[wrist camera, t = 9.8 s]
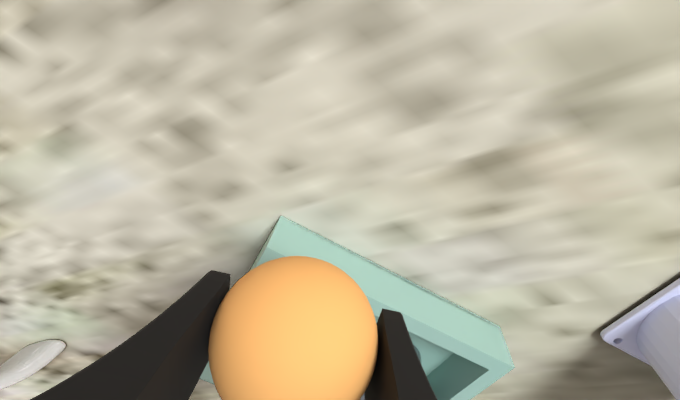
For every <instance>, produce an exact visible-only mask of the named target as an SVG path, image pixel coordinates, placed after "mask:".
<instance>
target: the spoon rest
mask: <svg viewBox="0 0 680 400" xmlns="http://www.w3.org/2000/svg"><path fill="white" fill-rule="evenodd" d="M65 347H66V344H65V343H64V342H63V341H61V340H45V341H41V342H38V343H34V344H31V345H28V346H26V347H24V348H22V349H21V350H20V351H19V352H17V353H16V354H15V355H13V356H12V357H11V358H10V359H8V360H7V361H6V362H4V363H3V364H2V365H0V390H1V389H4V388H7V387H9V386H11V385H14V384H16V383H18V382H20V381H22V380H24V379H26V378H28V377H29V376H31V375H33V374H34V373H36V372H37V371H39V370H40V369H42V368H43V367H44V366H46V365H47V364H48V363H49V362H51V361H52V360H53V359H54V358H55V357H56V356H58V355H59V354H60V353H61V352H62V351H63V350H64V349H65Z"/></svg>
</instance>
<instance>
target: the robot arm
mask: <svg viewBox="0 0 680 400" xmlns="http://www.w3.org/2000/svg"><path fill="white" fill-rule="evenodd" d="M229 287H230V274H226V273H221V272H217V271H210V272H208V273H207V274H206V275H205V276H204V277H203V278H202V279H201V280H200V281H199V282H198V283H196V284H195V285H194V286H193V287H192V288H191V289H190V290H189V291H188V292H187V293H185V294H184V295H183V296H182V297H181V298H180V299H179V300H177V301H176V302H175V303H174V304H173V305H171V306H170V307H169V308H168V309H167V310H165V311H164V312H163V313H162V314H161V315H159V316H158V317H157V318H156V319H154V320H153V321H152V322H150V323H149V324H148V325H146V326H145V327H144V328H142V329H141V330H140V331H139V332H137V333H136V334H135V335H133V336H132V337H131V338H129V339H128V340H126V341H125V342H124V343H122V344H121V345H119V346H118V347H116V348H115V349H114V350H112V351H111V352H109V353H108V354H106V355H105V356H103V357H102V358H100V359H99V360H97V361H95V362H94V363H92V364H91V365H89V366H88V367H86V368H84V369H83V370H81V371H79V372H78V373H76V374H74V375H73V376H71V377H70V378H68V379H66V380H65V381H63V382H61V383H59V384H58V385H56V386H54V387H53V388H51V389H49V390H47V391H45V392H44V393H42V394H40V395H38V396H36V397H34V398H32V399H31V400H188V399H189V397H190V396H191V394H192V392H193V390H194V388H195V386H196V384H197V382H198V380H199V378H200V377H201V375H202V373H203V371H204V369H205V367H206V365H207V363H208V361H209V354H208V346H209V336H210V331H211V326H212V323H213V320H214V317H215V314H216V312H217V310H218V307H219V305H220V304H221V302H222V300H223V299H224V297H225V296H226V294H227V292H228V291H229ZM377 332H378V353H377V361H376V365H375V369H374V372H373V376H372V378H371V380H370V383H369V385H368V387H367V389H366V391H365V392H364V396H365V400H437V398H436V396H435V394H434V391H433V389H432V387H431V385H430V383H429V381H428V379H427V376H426V374H425V372H424V370H423V367H422V365H421V363H420V360H419V358H418V356H417V353H416V351H415V348H414V346H413V343H412V340H411V338H410V335H409V332H408V330H407V327H406V324H405V321H404V318H403V315H402V314H401V312H397V311H392V310H388V309H383V308H382V311H381V313H380V316H379V319H378V321H377ZM600 336H601V338H602V339H603V340H604V341H605V342H607V343H609V344H610V345H612V346H614V347H616V348H618V349H620V350H622V351H624V352H626V353H627V354H629V355H631V356H633V357H635V358H637V359H639V360H641V361H643V362H644V363H646V364H648V365H650V366H652V367H653V369H654V370H655V372H656V373H657V374H658V376H659V377H660V378H661V380H662V381H663V382H664V384H665V385H666V387H667V388H668V389H669V391H670V392H671V393H672V395H673V396H674V397H675V399H676V400H680V278H679V279H677V280H676V281H674V282H673V283H671V284H670V285H668V286H667V287H665V288H664V289H663V290H661V291H660V292H658V293H657V294H655V295H654V296H652V297H651V298H649V299H648V300H646V301H645V302H643V303H642V304H640V305H639V306H637V307H636V308H634V309H633V310H631V311H630V312H629V313H627V314H626V315H624V316H623V317H621V318H620V319H618V320H617V321H615V322H614V323H612V324H611V325H609V326H608V327H606V328H605V329H603V330H602V331H601V333H600Z"/></svg>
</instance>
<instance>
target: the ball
mask: <svg viewBox="0 0 680 400" xmlns="http://www.w3.org/2000/svg"><path fill="white" fill-rule="evenodd" d="M377 353H378V332H377V324H376V320H375V317H374V313H373V310H372V308H371V305H370V303H369V301H368V299H367V297H366V295H365V294H364V292H363V291H362V290H361V288H360V287H359V285H358V284H357V283H356V282H355V281H354V280H353V279H352V278H351V277H350V276H349V275H348V274H346V273H345V272H344V271H343V270H341V269H340V268H338V267H337V266H335V265H333V264H331V263H329V262H326V261H324V260H320V259H317V258H312V257H307V256H288V257H282V258H278V259H274V260H270V261H268V262H265V263H263V264H261V265H259V266H257V267H256V268H254V269H252V270H250V271H249V272H248V273H247V274H245V275H244V276H243V277H242V278H240V279H239V280H238V281H237V282H236V283H235V284H234V286H233V287H232V288H231V289H230V290H229V291H228V292H227V294H226V296H225V297H224V299H223V300H222V302H221V304H220V305H219V307H218V310H217V312H216V314H215V317H214V320H213V323H212V326H211V331H210V336H209V346H208V354H209V367H210V371H211V375H212V379H213V382H214V384H215V387H216V389H217V391H218V393H219V395H220V397H221V399H222V400H360V399H361V397H362V396H363V394H364V392H365V391H366V389H367V387H368V385H369V383H370V380H371V378H372V376H373V372H374V369H375V365H376V361H377Z"/></svg>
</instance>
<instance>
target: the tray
mask: <svg viewBox="0 0 680 400" xmlns="http://www.w3.org/2000/svg"><path fill="white" fill-rule="evenodd" d="M288 256H307V257H312V258H317V259H320V260H324V261H326V262H329V263H331V264H333V265H335V266H337V267H338V268H340V269H341V270H343V271H344V272H345V273H346V274H348V275H349V276H350V277H351V278H352V279H353V280H354V281H355V282H356V283H357V284H358V285H359V287H360V288H361V290H362V291H363V292H364V294H365V295H366V297H367V299H368V301H369V303H370V305H371V308H372V310H373V313H374V317H375V320H376V324H377V321H378V319H379V316H380V313H381V311H382V308H383V309H388V310H392V311H397V312H401V314H402V315H403V318H404V321H405V324H406V327H407V330H408V332H409V335H410V338H411V340H412V343H413V345H414V346H416V348H417V349H418V350H419V352H420V355H421V362H422V367H423V370H424V372H425V374H426V376H427V379H428V381H429V383H430V385H431V387H432V389H433V391H434V394H435V396H436V398H437V400H470V399H472V398H473V397H475V396H476V395H477V394H479V393H480V392H482V391H483V390H484V389H486V388H487V387H488V386H490V385H491V384H493V383H494V382H495V381H497V380H498V379H500V378H501V377H502V376H504V375H505V374H507V373H508V372H509V371H511V370H512V369H514V368H515V367H514V364H513V361H512V359H511V356H510V353H509V350H508V348H507V345H506V342H505V339H504V337H503V334H502V331H501V328H500V326H498V325H496V324H494V323H492V322H490V321H488V320H486V319H484V318H482V317H480V316H478V315H476V314H474V313H472V312H470V311H468V310H466V309H464V308H462V307H460V306H458V305H456V304H454V303H452V302H450V301H448V300H446V299H445V298H443V297H441V296H439V295H437V294H435V293H433V292H431V291H429V290H427V289H425V288H423V287H421V286H419V285H417V284H415V283H413V282H411V281H409V280H407V279H405V278H403V277H401V276H399V275H397V274H395V273H393V272H391V271H389V270H387V269H385V268H383V267H381V266H379V265H377V264H375V263H373V262H371V261H369V260H367V259H365V258H364V257H362V256H360V255H358V254H356V253H354V252H352V251H350V250H348V249H346V248H344V247H342V246H340V245H338V244H336V243H334V242H332V241H330V240H328V239H326V238H324V237H322V236H320V235H318V234H316V233H314V232H312V231H310V230H308V229H306V228H304V227H302V226H300V225H298V224H296V223H294V222H292V221H290V220H288V219H286V218H284V217H283V216H280V218H279V220H278V221H277V223H276V225H275V227H274V228H273V230H272V232H271V234H270V235H269V237H268V239H267V241H266V242H265V244H264V246H263V248H262V250H261V251H260V253H259V255H258V257H257V258H256V260H255V262H254V264H253V265H252V267H251V269H250V270H252V269H254V268H256V267H257V266H259V265H261V264H263V263H265V262H268V261H270V260H274V259H278V258H282V257H288ZM199 379H202V380H204V381H207V382H209V383H212V384H214V382H213V379H212V375H211V371H210V367H209V361H208V363H207V365H206V367H205V369H204V371H203V373H202V375H201V377H200V378H199ZM214 385H215V384H214Z"/></svg>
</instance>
